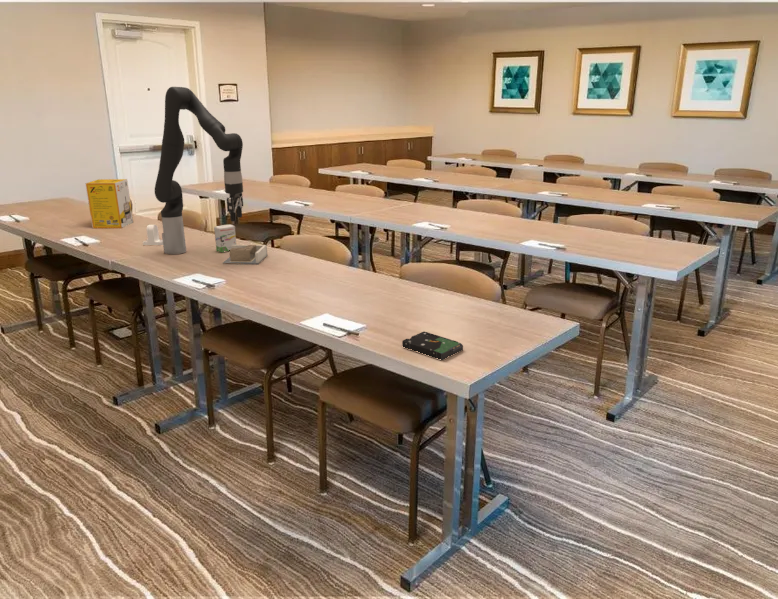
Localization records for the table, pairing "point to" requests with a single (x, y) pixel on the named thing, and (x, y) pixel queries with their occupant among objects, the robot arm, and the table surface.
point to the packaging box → (109, 203)
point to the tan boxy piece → (243, 253)
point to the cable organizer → (152, 236)
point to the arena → (259, 254)
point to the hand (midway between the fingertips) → (236, 219)
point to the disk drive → (432, 345)
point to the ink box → (224, 237)
